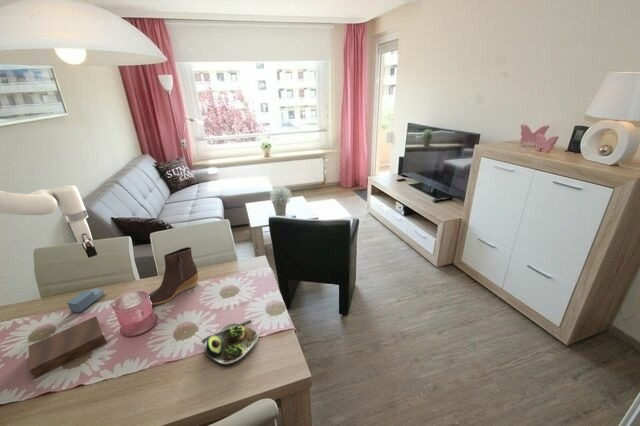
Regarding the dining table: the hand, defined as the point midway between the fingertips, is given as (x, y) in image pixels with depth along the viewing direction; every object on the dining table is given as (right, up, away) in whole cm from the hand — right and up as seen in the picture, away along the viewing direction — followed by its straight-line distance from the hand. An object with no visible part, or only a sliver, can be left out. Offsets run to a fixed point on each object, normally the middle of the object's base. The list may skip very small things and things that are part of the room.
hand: (90, 252), depth 125 cm
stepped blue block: (-4, -23, +4) cm, 24 cm away
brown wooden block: (+8, -32, -19) cm, 39 cm away
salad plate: (+67, -30, -22) cm, 76 cm away
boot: (+32, -20, +7) cm, 39 cm away
